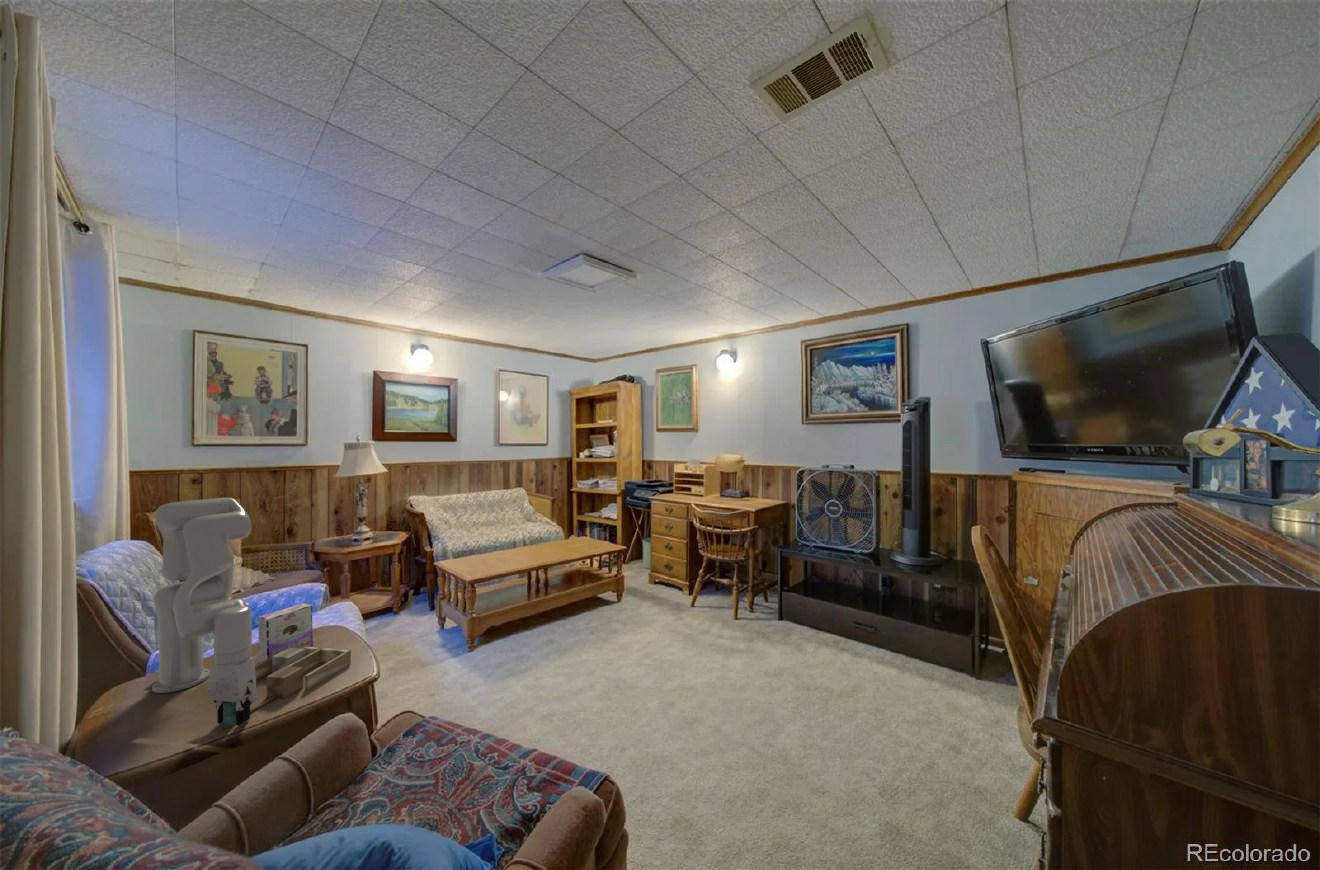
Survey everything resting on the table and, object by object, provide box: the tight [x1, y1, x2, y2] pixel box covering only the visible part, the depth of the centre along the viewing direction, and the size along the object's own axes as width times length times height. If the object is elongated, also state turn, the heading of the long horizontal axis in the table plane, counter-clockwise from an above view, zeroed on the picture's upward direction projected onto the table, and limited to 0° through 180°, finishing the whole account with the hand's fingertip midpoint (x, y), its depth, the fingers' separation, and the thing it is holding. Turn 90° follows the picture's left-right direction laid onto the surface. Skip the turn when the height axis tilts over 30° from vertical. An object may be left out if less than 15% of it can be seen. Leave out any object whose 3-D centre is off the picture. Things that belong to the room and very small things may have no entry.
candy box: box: [258, 602, 314, 663], centre depth 159 cm, size 14×6×16 cm, turn 154°
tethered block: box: [222, 666, 304, 729], centre depth 130 cm, size 6×20×7 cm, turn 172°
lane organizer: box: [254, 646, 352, 690], centre depth 148 cm, size 22×16×5 cm
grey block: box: [271, 648, 305, 674], centre depth 149 cm, size 6×6×6 cm
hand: (234, 720), depth 123 cm, fingers open, 4 cm apart
